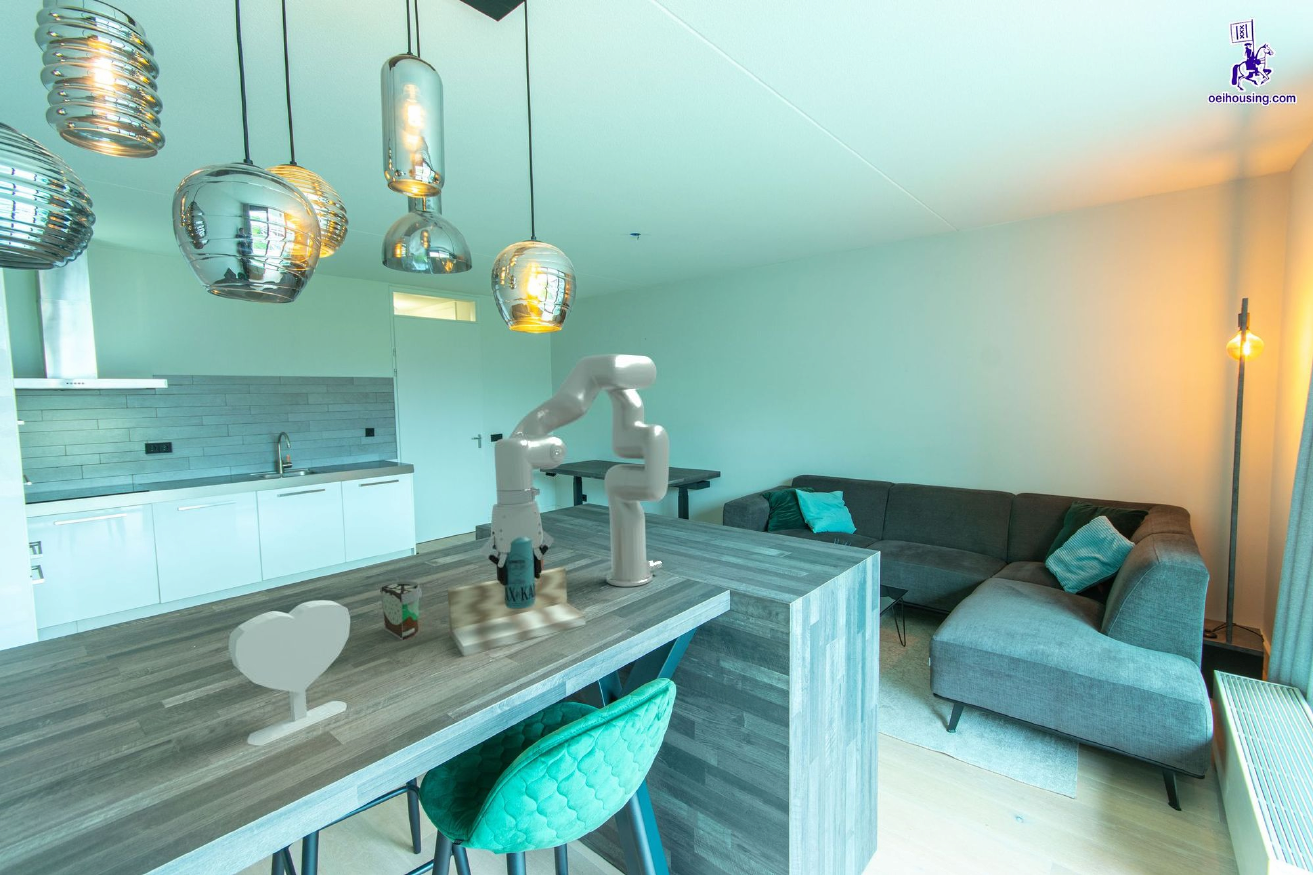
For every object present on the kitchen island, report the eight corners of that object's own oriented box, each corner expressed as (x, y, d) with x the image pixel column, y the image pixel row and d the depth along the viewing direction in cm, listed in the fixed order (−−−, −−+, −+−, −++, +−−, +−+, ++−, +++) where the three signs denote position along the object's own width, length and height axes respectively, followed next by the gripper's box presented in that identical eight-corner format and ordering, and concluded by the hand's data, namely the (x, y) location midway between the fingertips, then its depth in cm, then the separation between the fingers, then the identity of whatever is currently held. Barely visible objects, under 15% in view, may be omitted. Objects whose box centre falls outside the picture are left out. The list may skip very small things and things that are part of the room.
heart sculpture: (345, 695, 95) (338, 592, 94) (358, 705, 92) (350, 598, 91) (234, 739, 83) (224, 622, 82) (244, 752, 80) (234, 630, 79)
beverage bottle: (502, 608, 121) (498, 516, 119) (533, 603, 123) (529, 513, 122) (507, 618, 115) (502, 522, 113) (539, 612, 117) (535, 518, 116)
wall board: (564, 608, 133) (562, 566, 132) (585, 624, 123) (583, 579, 122) (450, 635, 119) (447, 589, 118) (463, 656, 109) (461, 606, 108)
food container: (434, 632, 121) (431, 587, 120) (405, 642, 116) (402, 595, 116) (409, 618, 129) (407, 576, 129) (382, 627, 125) (379, 583, 124)
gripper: (547, 490, 125) (551, 568, 127) (468, 499, 116) (473, 584, 117) (561, 494, 119) (564, 576, 120) (478, 504, 110) (483, 594, 111)
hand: (519, 579), depth 119 cm, fingers closed on beverage bottle, 6 cm apart
